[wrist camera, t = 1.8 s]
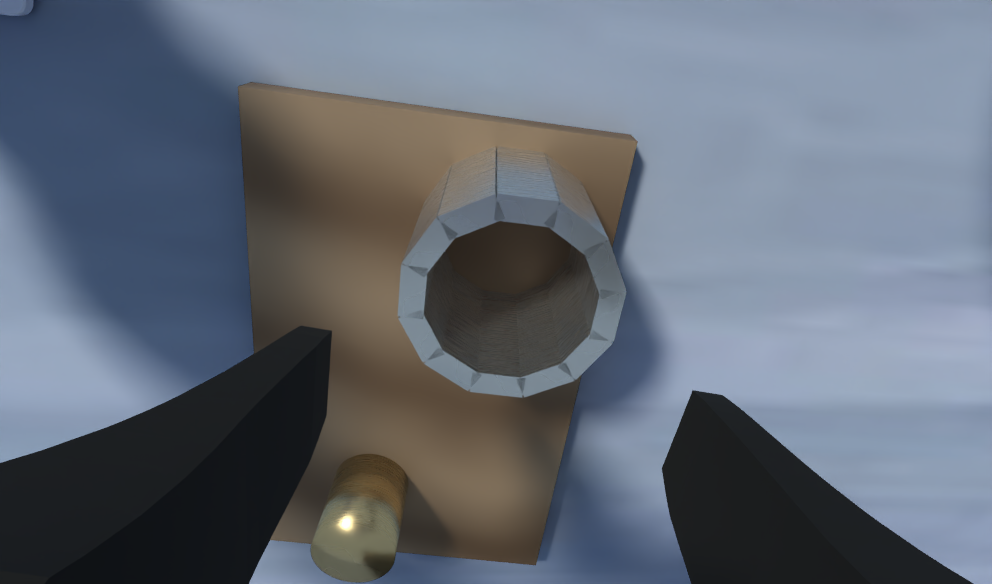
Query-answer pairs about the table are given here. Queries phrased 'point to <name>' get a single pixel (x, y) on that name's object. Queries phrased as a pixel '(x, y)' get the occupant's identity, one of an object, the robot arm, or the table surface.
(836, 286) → the table surface
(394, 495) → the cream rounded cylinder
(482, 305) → the steel collar
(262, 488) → the robot arm
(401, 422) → the walnut board
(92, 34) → the table surface
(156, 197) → the table surface
